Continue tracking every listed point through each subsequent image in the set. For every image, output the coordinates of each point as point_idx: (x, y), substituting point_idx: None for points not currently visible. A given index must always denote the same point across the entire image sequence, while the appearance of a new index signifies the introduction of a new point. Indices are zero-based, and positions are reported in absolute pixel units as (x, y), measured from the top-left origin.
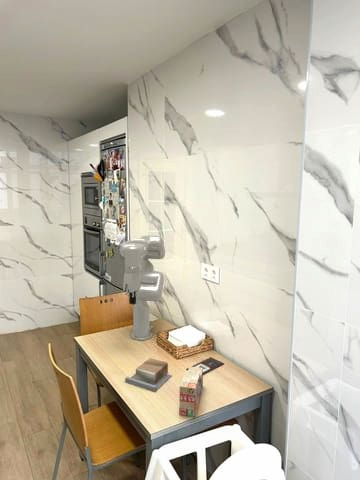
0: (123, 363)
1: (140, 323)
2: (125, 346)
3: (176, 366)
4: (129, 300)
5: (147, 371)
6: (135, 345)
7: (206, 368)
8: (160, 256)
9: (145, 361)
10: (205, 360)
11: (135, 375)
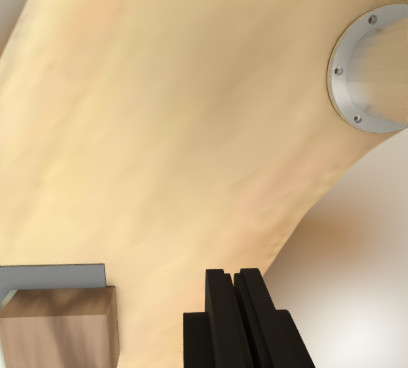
0: (83, 172)
1: (399, 97)
2: (234, 70)
3: (181, 352)
4: (210, 306)
5: (3, 363)
6: (267, 111)
7: None
8: None
9: (66, 316)
10: None
11: (30, 274)
